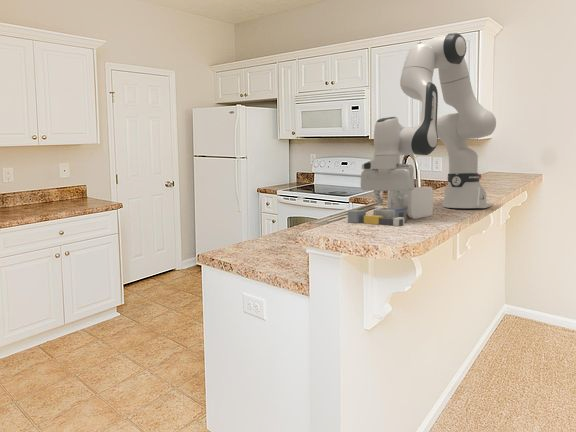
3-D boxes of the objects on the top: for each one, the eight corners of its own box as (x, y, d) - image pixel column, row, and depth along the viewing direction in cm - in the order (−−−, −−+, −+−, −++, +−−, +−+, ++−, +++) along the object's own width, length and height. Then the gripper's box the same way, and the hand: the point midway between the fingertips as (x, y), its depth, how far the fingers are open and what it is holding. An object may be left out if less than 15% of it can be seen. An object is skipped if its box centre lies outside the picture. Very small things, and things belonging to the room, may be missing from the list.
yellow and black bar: (364, 222, 163) (364, 214, 162) (404, 225, 151) (404, 217, 151) (357, 223, 160) (357, 215, 160) (398, 226, 148) (398, 218, 148)
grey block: (356, 221, 166) (356, 210, 165) (367, 222, 162) (367, 210, 162) (347, 222, 162) (347, 211, 162) (358, 223, 159) (358, 211, 159)
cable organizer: (410, 220, 165) (410, 188, 164) (386, 218, 173) (386, 187, 171) (433, 217, 174) (433, 186, 173) (409, 215, 182) (409, 186, 181)
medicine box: (395, 210, 156) (373, 209, 161) (395, 223, 156) (372, 222, 162) (406, 208, 162) (384, 207, 167) (406, 221, 162) (384, 220, 168)
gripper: (418, 163, 156) (417, 204, 157) (368, 164, 171) (368, 202, 172) (408, 163, 152) (407, 205, 153) (357, 164, 166) (358, 203, 168)
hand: (386, 203), depth 163 cm, fingers open, 4 cm apart
